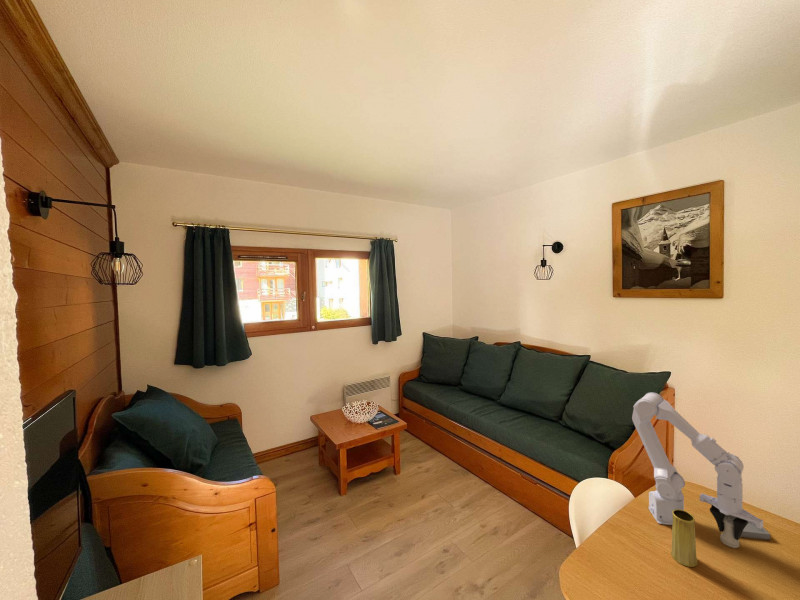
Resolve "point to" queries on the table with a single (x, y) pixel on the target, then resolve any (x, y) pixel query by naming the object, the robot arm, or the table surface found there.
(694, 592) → the table surface
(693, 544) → the vase
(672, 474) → the robot arm
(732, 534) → the rook chess piece
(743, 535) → the tray
